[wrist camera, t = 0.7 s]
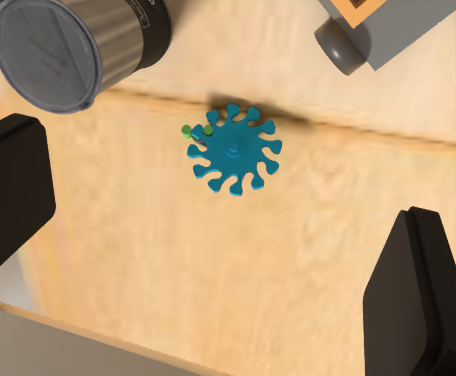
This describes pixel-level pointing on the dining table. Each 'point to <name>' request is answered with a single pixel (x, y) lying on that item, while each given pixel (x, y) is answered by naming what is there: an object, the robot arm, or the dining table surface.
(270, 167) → the gear
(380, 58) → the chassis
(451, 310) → the robot arm
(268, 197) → the dining table surface
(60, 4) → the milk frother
